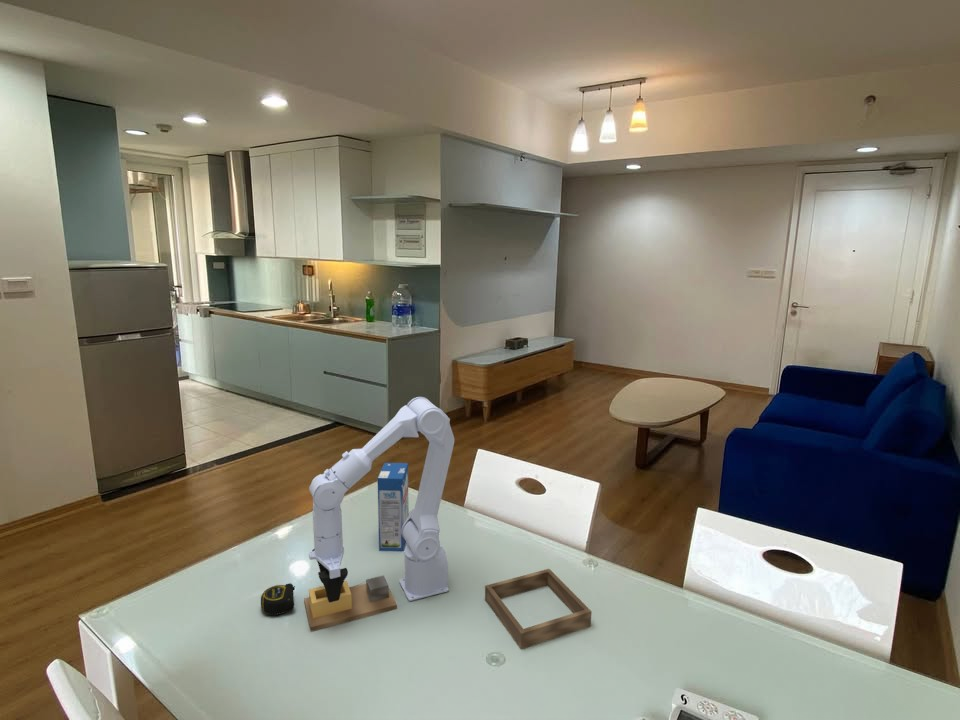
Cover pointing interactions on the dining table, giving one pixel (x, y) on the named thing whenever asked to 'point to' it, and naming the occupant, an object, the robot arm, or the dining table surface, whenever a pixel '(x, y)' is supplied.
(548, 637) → the frame
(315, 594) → the link
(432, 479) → the robot arm
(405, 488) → the milk carton
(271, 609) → the tape measure
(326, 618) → the board
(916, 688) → the dining table surface
